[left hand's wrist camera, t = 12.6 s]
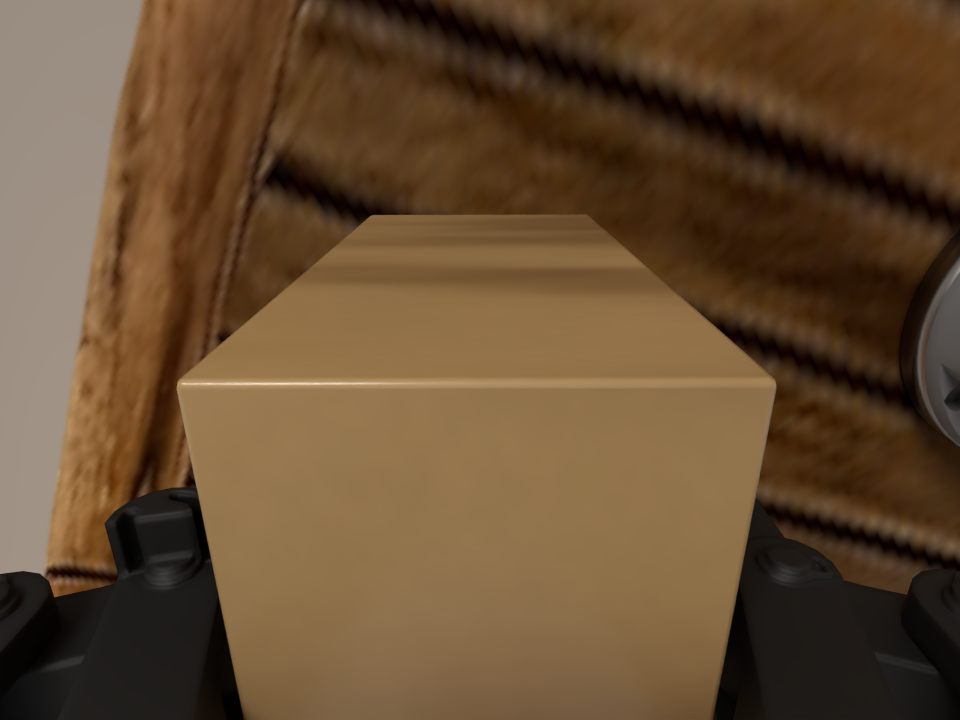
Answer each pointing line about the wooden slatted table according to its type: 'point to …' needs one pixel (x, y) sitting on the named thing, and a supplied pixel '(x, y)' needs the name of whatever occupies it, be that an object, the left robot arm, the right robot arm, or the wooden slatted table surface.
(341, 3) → the wooden slatted table surface
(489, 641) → the bar
